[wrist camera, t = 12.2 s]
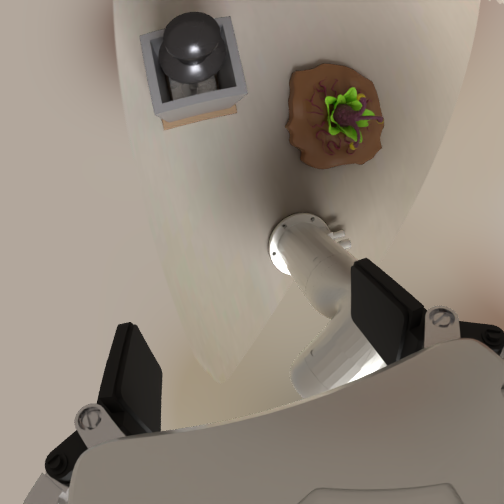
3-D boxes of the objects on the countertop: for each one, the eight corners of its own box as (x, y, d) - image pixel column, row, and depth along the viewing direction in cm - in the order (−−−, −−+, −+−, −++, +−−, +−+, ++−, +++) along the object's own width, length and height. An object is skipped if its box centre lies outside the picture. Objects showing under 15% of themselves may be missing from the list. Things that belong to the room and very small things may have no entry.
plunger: (210, 62, 37) (228, -6, 15) (219, 101, 40) (245, 63, 18) (167, 72, 36) (141, 11, 14) (176, 111, 39) (154, 83, 17)
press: (222, 49, 37) (237, 8, 22) (236, 113, 42) (258, 100, 27) (151, 65, 36) (129, 31, 21) (165, 130, 41) (147, 126, 26)
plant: (371, 69, 42) (406, 60, 32) (380, 161, 51) (416, 170, 41) (275, 66, 40) (297, 49, 30) (289, 171, 48) (314, 182, 38)
